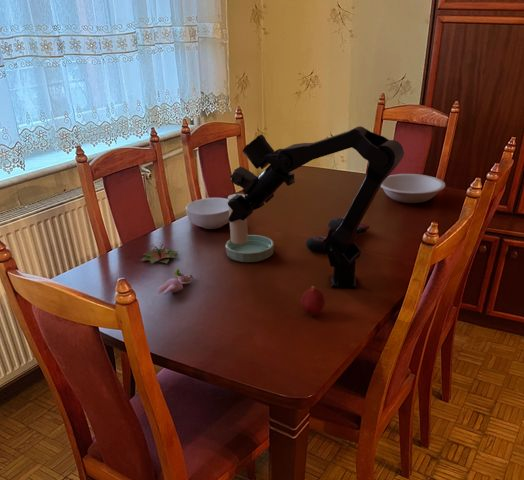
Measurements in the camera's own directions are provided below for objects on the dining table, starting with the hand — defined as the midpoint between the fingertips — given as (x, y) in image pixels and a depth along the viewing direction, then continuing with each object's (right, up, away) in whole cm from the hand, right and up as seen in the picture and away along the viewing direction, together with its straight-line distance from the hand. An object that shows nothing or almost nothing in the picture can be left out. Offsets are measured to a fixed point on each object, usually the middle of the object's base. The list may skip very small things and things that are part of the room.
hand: (233, 217), depth 154 cm
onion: (+20, -29, -20) cm, 41 cm away
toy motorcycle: (+33, -4, +18) cm, 38 cm away
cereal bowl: (-9, +5, +33) cm, 35 cm away
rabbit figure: (-15, -22, -8) cm, 28 cm away
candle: (+1, -6, +3) cm, 7 cm away
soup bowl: (+63, +18, +49) cm, 82 cm away
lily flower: (-23, -10, +11) cm, 27 cm away
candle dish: (+4, -8, +12) cm, 15 cm away
